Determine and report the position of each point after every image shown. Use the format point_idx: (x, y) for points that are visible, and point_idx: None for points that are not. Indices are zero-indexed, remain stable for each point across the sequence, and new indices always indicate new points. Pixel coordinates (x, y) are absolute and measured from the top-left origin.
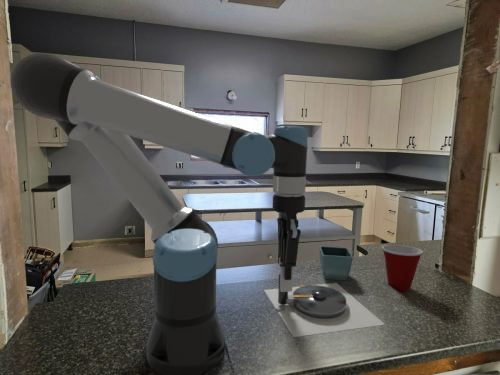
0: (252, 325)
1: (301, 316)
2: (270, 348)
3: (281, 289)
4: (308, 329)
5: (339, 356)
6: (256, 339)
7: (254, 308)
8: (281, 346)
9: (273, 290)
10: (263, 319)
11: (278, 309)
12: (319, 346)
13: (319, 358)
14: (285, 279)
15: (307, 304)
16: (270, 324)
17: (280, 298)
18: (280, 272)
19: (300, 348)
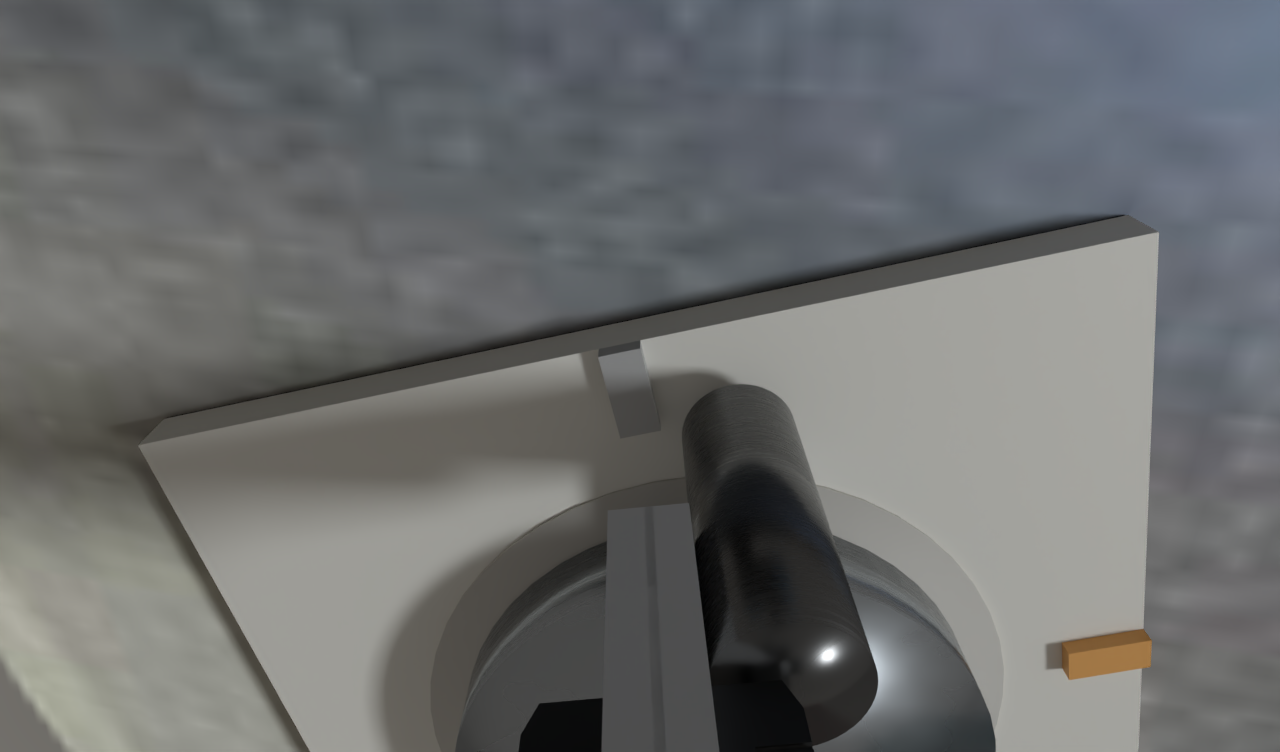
0: (385, 32)
1: (502, 555)
2: (11, 206)
3: (607, 536)
4: (289, 574)
5: (79, 681)
6: (120, 70)
7: (775, 73)
8: (75, 309)
9: (1113, 351)
10: (524, 171)
11: (604, 367)
12: (163, 589)
13: (9, 563)
14: (534, 716)
15: (556, 676)
16: (430, 241)
17: (699, 439)
18: (703, 711)
19: (94, 457)
